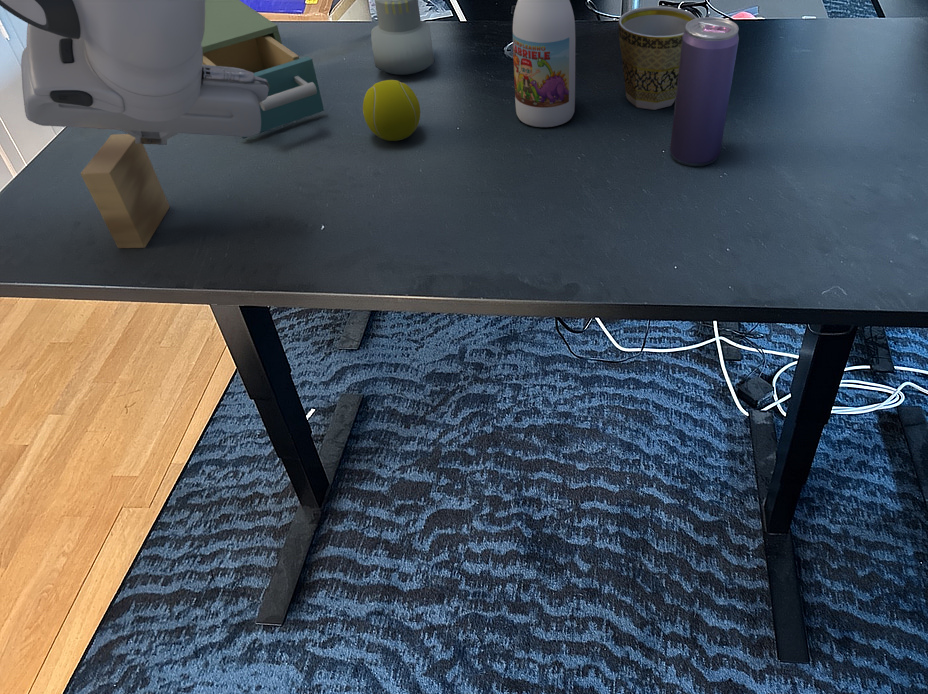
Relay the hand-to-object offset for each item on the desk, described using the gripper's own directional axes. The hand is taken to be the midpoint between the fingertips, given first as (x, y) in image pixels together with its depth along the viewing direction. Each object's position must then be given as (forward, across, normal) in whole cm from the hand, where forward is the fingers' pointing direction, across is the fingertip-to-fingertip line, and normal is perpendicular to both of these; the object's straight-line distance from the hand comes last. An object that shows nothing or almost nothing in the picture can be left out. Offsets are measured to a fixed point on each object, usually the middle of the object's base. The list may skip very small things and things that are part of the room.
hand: (150, 137), depth 79 cm
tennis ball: (+7, -28, -5) cm, 30 cm away
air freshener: (+18, -35, -22) cm, 45 cm away
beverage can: (-12, -59, +5) cm, 60 cm away
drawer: (+18, -15, -13) cm, 26 cm away
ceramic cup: (-2, -62, -9) cm, 63 cm away
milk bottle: (+1, -47, -6) cm, 48 cm away
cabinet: (+28, -11, -22) cm, 37 cm away
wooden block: (+9, +1, +6) cm, 11 cm away
